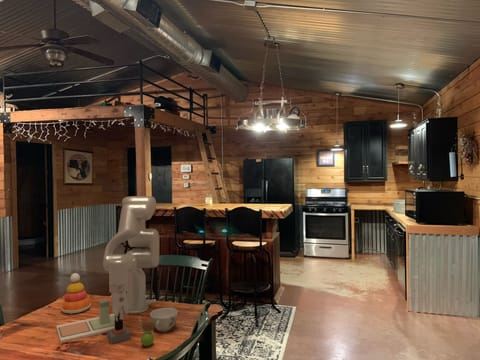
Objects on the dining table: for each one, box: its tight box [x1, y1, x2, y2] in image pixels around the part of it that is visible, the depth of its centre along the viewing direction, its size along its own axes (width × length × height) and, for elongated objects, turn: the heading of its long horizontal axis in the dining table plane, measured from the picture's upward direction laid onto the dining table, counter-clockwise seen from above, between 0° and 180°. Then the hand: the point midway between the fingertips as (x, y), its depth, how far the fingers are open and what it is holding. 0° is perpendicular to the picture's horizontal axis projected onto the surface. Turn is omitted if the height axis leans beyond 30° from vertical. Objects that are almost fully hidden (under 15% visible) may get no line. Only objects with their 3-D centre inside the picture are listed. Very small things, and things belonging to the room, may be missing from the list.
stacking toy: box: [60, 272, 92, 315], centre depth 187 cm, size 14×14×20 cm
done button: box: [113, 327, 125, 335], centre depth 154 cm, size 4×4×3 cm
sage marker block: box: [98, 299, 110, 325], centre depth 168 cm, size 4×4×10 cm
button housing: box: [106, 325, 132, 345], centre depth 154 cm, size 8×8×3 cm
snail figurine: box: [138, 316, 155, 347], centre depth 147 cm, size 5×6×12 cm
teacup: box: [149, 307, 179, 332], centre depth 161 cm, size 15×12×8 cm
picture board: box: [56, 313, 115, 344], centre depth 164 cm, size 26×18×1 cm
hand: (118, 329), depth 154 cm, fingers closed
